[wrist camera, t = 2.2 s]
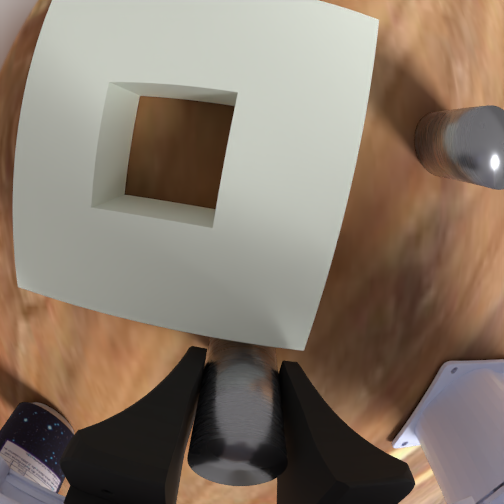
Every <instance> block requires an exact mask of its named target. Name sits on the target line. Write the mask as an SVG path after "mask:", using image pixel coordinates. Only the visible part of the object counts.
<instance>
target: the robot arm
mask: <svg viewBox="0 0 504 504" xmlns="http://www.w3.org/2000/svg"><path fill="white" fill-rule="evenodd" d="M206 353H207V349H205V348H199V347H194V346H191V347H190V348H189V349H188V351H187V352H186V354H185V355H184V357H183V358H182V359H181V361H180V362H179V363H178V364H177V366H176V367H175V368H174V369H173V370H172V371H171V372H170V374H169V375H168V376H167V377H166V378H165V379H164V380H163V381H162V382H161V383H159V384H158V385H157V386H156V387H155V388H154V389H153V390H152V391H151V392H149V393H148V394H147V395H146V396H144V397H143V398H142V399H140V400H139V401H138V402H136V403H135V404H133V405H132V406H130V407H129V408H127V409H125V410H124V411H122V412H120V413H118V414H116V415H114V416H112V417H110V418H108V419H106V420H104V421H102V422H100V423H97V424H95V425H92V426H89V427H86V428H84V429H81V430H78V431H77V432H76V434H75V435H74V436H73V438H72V439H71V440H70V442H69V443H68V445H67V446H66V448H65V450H64V452H63V454H62V457H61V459H60V461H59V464H60V467H61V470H62V471H63V473H64V475H65V477H66V479H67V480H68V482H69V484H70V485H71V486H70V488H69V490H68V493H67V495H66V497H64V496H62V495H60V494H58V493H55V492H53V491H51V490H49V489H47V488H45V487H43V486H41V485H39V484H37V483H35V482H33V481H32V480H30V479H28V478H26V477H24V476H22V475H21V474H19V473H17V472H15V471H14V470H12V469H10V467H9V465H8V464H7V462H6V461H5V460H4V459H3V458H2V457H1V456H0V504H176V500H177V494H178V488H179V482H180V476H181V470H182V464H183V458H184V453H185V449H186V445H187V442H188V438H189V435H190V432H191V428H192V425H193V422H194V418H195V414H196V409H197V403H198V398H199V393H200V388H201V383H202V378H203V373H204V367H205V360H206ZM278 376H279V385H280V394H281V403H282V412H283V422H284V431H285V440H286V450H287V459H288V465H287V468H286V470H285V471H284V472H283V473H282V474H281V475H280V476H278V477H277V504H398V503H399V502H400V501H401V500H402V499H404V498H405V497H406V496H407V495H408V494H409V493H410V492H411V491H412V489H413V488H414V485H415V481H414V478H413V476H412V473H411V471H410V468H409V466H408V464H407V463H405V462H403V461H401V460H399V459H397V458H395V457H393V456H391V455H389V454H387V453H385V452H384V451H382V450H380V449H379V448H377V447H375V446H374V445H372V444H371V443H369V442H368V441H366V440H365V439H364V438H362V437H361V436H360V435H359V434H357V433H356V432H355V431H354V430H352V429H351V428H350V427H349V426H348V425H347V424H346V423H345V422H344V421H343V420H342V419H341V418H339V417H338V415H337V414H336V413H335V412H334V411H333V410H332V409H331V408H330V407H329V405H328V404H327V403H326V402H325V401H324V399H323V398H322V397H321V396H320V394H319V393H318V392H317V390H316V389H315V387H314V386H313V385H312V383H311V382H310V380H309V379H308V377H307V376H306V374H305V373H304V371H303V370H302V368H301V367H300V365H299V364H298V362H291V361H283V362H282V365H281V368H280V371H279V374H278ZM416 445H421V447H422V449H423V451H424V453H425V456H426V458H427V460H428V462H429V464H430V466H431V469H432V471H433V473H434V475H435V477H436V480H437V482H438V484H439V486H440V489H441V491H442V493H443V496H444V498H445V500H446V503H447V504H504V359H497V360H472V361H447V362H445V363H444V364H443V365H442V366H441V368H440V370H439V371H438V373H437V375H436V377H435V378H434V380H433V382H432V383H431V385H430V387H429V388H428V390H427V392H426V393H425V395H424V397H423V398H422V400H421V401H420V403H419V404H418V406H417V407H416V409H415V410H414V412H413V413H412V415H411V416H410V418H409V419H408V421H407V422H406V424H405V425H404V426H403V428H402V429H401V431H400V432H399V433H398V435H397V436H396V437H395V439H394V440H393V441H392V446H393V448H402V447H409V446H416Z"/></svg>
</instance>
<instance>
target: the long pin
mask: <svg viewBox="0 0 504 504" xmlns="http://www.w3.org/2000/svg"><path fill="white" fill-rule="evenodd" d="M187 459H188V464H189V466H190V467H191V469H192V470H193V471H194V472H195V473H197V474H198V475H200V476H201V477H203V478H205V479H207V480H210V481H213V482H216V483H219V484H224V485H232V486H250V485H257V484H262V483H265V482H268V481H271V480H273V479H275V478H277V477H278V476H280V475H281V474H282V473H283V472H284V471H285V470H286V468H287V465H288V459H287V450H286V440H285V431H284V422H283V412H282V403H281V394H280V385H279V376H278V367H277V359H276V350H275V347H271V346H264V345H257V344H250V343H244V342H237V341H231V340H226V339H220V338H214V337H211V338H210V343H209V348H208V353H207V358H206V363H205V368H204V373H203V378H202V383H201V388H200V393H199V398H198V403H197V409H196V414H195V419H194V425H193V430H192V436H191V441H190V446H189V452H188V458H187Z"/></svg>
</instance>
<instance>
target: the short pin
mask: <svg viewBox="0 0 504 504" xmlns="http://www.w3.org/2000/svg"><path fill="white" fill-rule="evenodd" d="M414 143H415V150H416V154H417V156H418V159H419V161H420V162H421V164H422V165H423V167H424V168H425V169H426V170H427V171H428V172H430V173H431V174H433V175H435V176H439V177H444V178H449V179H454V180H458V181H463V182H467V183H472V184H476V185H480V186H484V187H488V188H492V189H497V190H501V189H504V110H503V109H501V108H499V107H497V106H480V107H470V108H462V109H453V110H446V111H439V112H432V113H429V114H427V115H425V116H424V117H423V118H422V119H421V120H420V121H419V123H418V125H417V128H416V131H415V137H414Z"/></svg>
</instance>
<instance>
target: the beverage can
mask: <svg viewBox="0 0 504 504" xmlns="http://www.w3.org/2000/svg"><path fill="white" fill-rule="evenodd" d="M73 436H74V431H73V429H72V427H71V425H70V424H69V423H68V422H67V420H66V419H65V418H64V417H63V416H61V415H60V414H59V413H58V412H57V411H55V410H54V409H52V408H50V407H49V406H47V405H45V404H42V403H38V402H34V403H29V402H22V403H20V404H19V405H18V406H17V408H16V409H15V410H14V412H13V413H12V415H11V416H10V417H9V419H8V420H7V422H6V423H5V425H4V426H3V427H2V429H1V430H0V456H1V457H2V458H3V459H4V460H5V461H6V462H7V464H8V465H9V467H10V469H12V470H14V471H15V472H17V473H19V474H21V475H22V476H24V477H26V478H28V479H30V480H32V481H33V482H35V483H37V484H39V485H41V486H43V487H45V488H47V489H49V490H51V491H53V492H55V493H58V492H59V490H60V488H61V485H62V483H63V481H64V479H65V475H64V473H63V471H62V470H61V467H60V464H59V461H60V459H61V457H62V454H63V452H64V450H65V448H66V446H67V445H68V443H69V442H70V440H71V439H72V438H73Z"/></svg>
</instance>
